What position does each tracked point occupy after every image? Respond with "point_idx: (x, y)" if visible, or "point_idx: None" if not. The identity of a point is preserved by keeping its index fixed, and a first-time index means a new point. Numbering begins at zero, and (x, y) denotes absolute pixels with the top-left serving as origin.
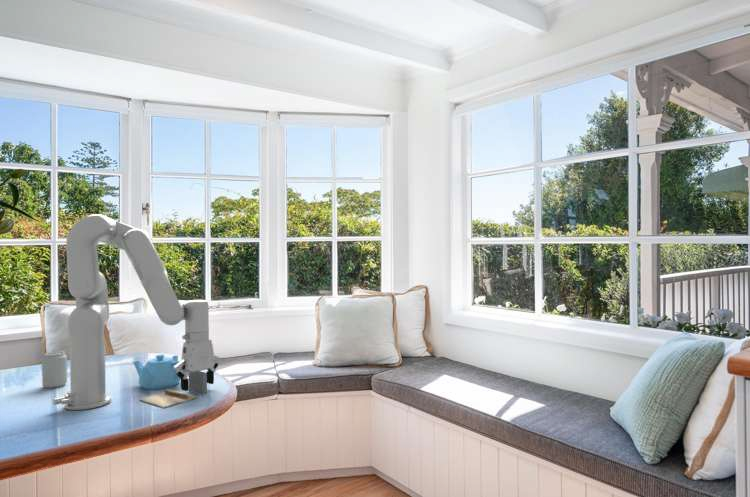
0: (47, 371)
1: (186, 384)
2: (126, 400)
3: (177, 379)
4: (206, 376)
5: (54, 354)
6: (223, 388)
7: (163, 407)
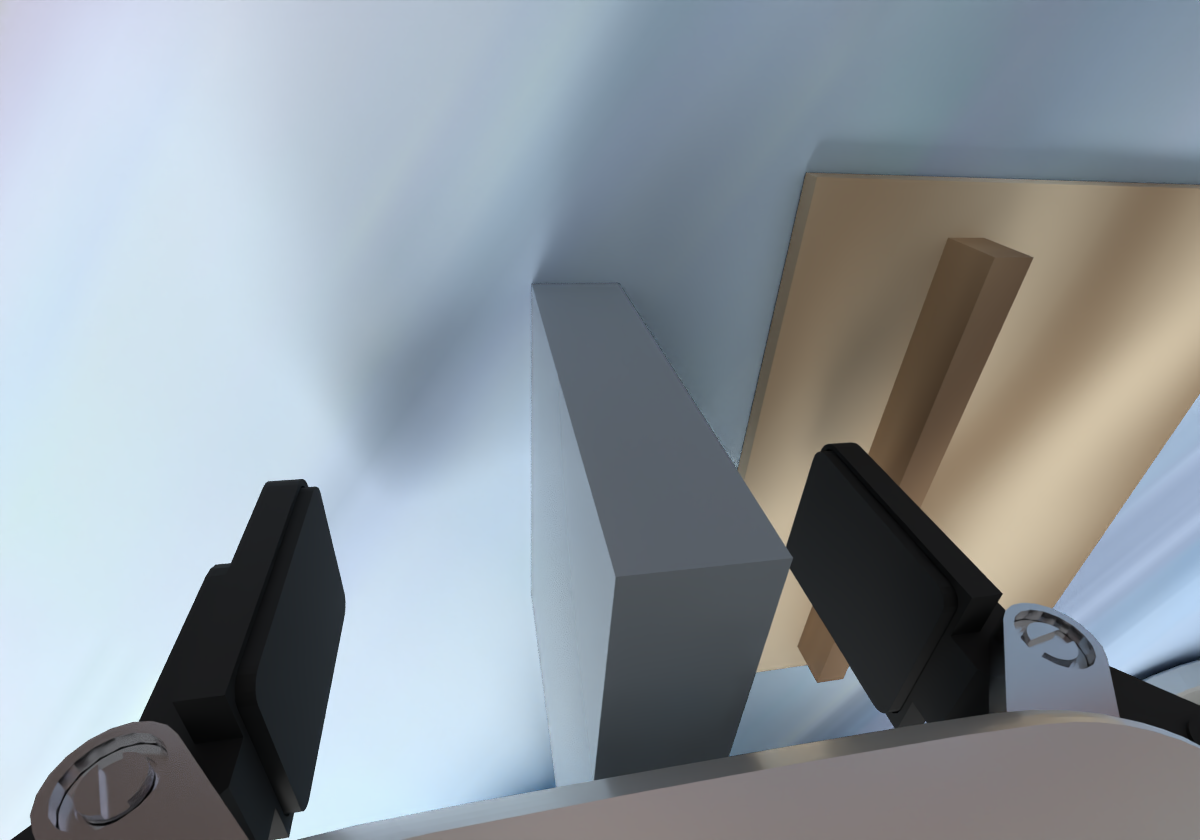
0: None
1: (914, 519)
2: None
3: None
4: (601, 488)
5: None
6: (96, 313)
7: None
